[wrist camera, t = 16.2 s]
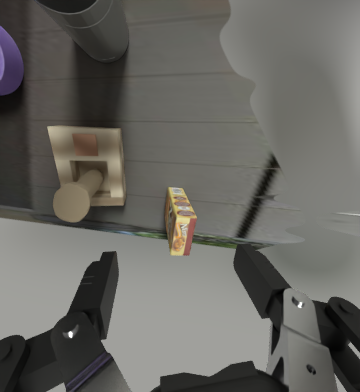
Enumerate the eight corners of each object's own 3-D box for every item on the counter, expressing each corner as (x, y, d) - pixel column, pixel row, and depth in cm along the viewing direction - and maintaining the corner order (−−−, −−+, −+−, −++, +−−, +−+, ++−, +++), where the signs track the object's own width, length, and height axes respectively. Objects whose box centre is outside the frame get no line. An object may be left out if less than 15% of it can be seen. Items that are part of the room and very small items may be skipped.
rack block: (60, 125, 36) (46, 126, 31) (121, 128, 38) (117, 129, 33) (74, 197, 42) (65, 207, 38) (126, 196, 44) (123, 205, 39)
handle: (82, 183, 40) (49, 216, 27) (89, 157, 38) (58, 179, 25) (104, 190, 42) (83, 225, 28) (112, 165, 40) (94, 190, 26)
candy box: (167, 186, 45) (174, 217, 31) (183, 187, 46) (197, 218, 32) (163, 216, 48) (169, 256, 34) (179, 217, 49) (190, 256, 35)
